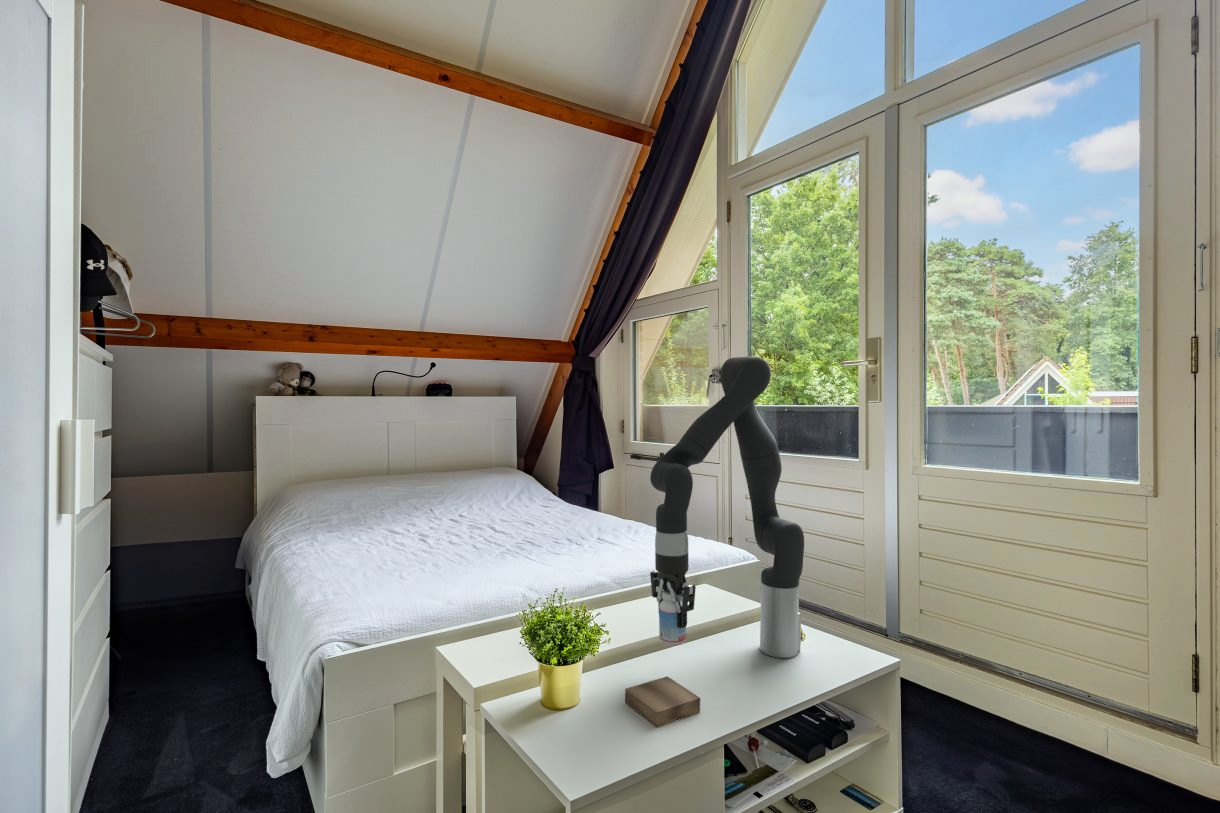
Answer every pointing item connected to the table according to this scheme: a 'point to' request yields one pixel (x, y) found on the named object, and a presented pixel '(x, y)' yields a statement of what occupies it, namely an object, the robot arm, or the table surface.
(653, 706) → the walnut stand
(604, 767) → the table surface
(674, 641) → the pill bottle
